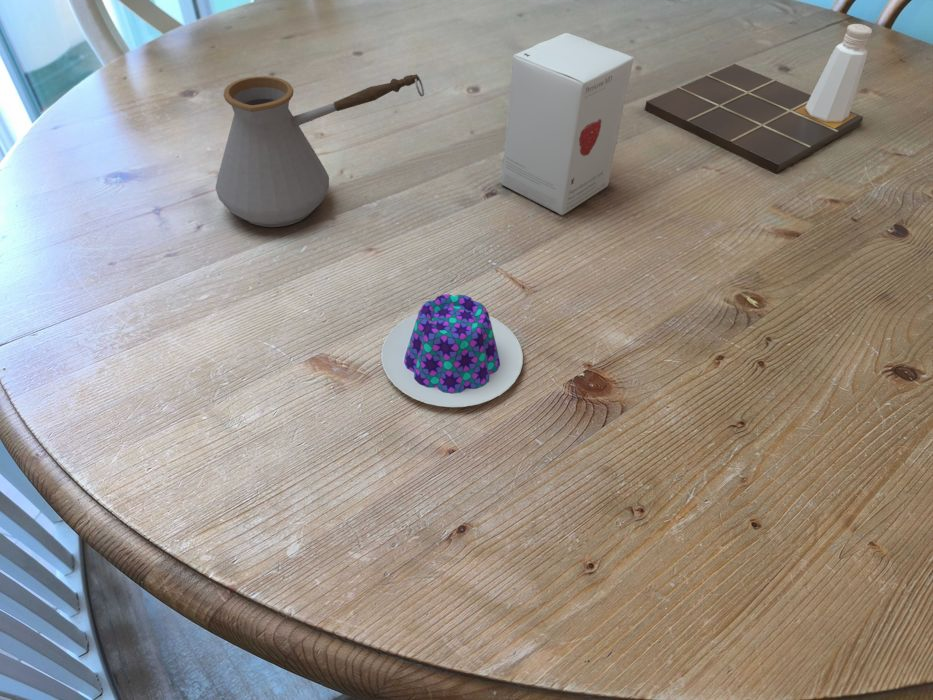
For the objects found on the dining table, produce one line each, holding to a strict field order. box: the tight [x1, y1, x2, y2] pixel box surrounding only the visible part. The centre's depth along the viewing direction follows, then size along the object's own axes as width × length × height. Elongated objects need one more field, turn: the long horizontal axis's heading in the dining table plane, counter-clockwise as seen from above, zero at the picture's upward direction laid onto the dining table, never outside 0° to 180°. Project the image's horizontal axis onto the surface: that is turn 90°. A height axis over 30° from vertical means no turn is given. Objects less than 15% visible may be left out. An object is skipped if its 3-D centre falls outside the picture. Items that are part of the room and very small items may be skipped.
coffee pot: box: [215, 74, 425, 228], centre depth 74 cm, size 21×12×15 cm, turn 90°
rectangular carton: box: [500, 32, 634, 216], centre depth 79 cm, size 9×9×15 cm
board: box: [644, 63, 864, 174], centre depth 98 cm, size 20×20×1 cm
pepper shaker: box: [805, 23, 873, 122], centre depth 94 cm, size 5×5×11 cm
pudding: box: [380, 293, 524, 408], centre depth 62 cm, size 12×12×5 cm
